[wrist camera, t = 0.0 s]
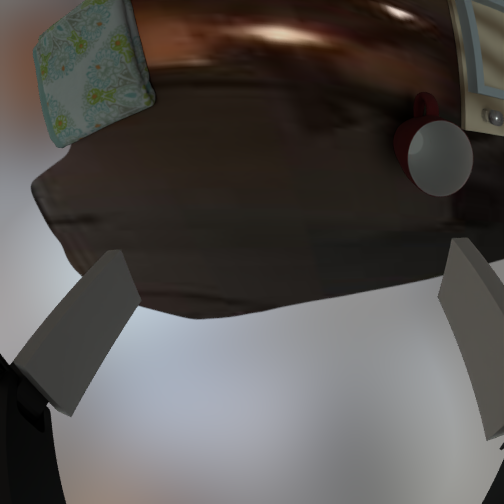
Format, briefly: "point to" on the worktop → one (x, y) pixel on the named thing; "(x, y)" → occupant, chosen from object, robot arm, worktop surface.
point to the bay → (475, 46)
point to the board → (494, 67)
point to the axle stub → (492, 117)
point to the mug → (433, 150)
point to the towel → (91, 70)
